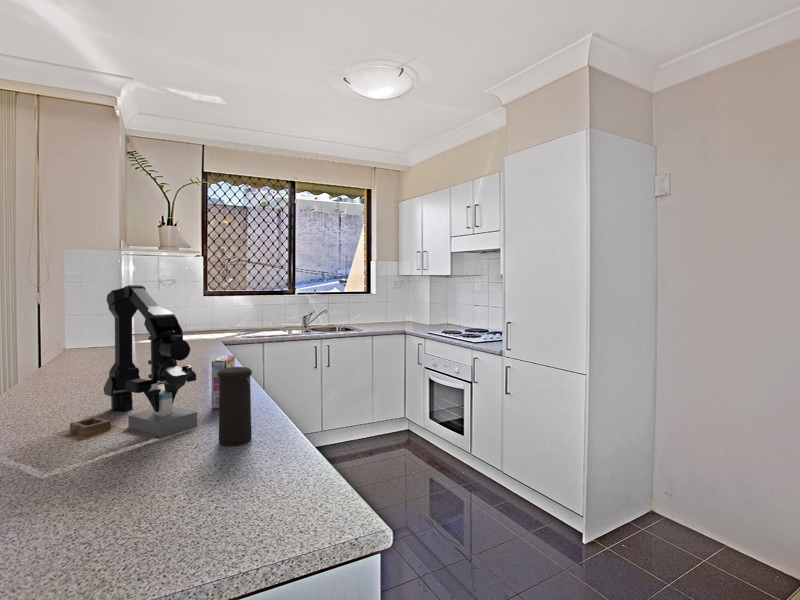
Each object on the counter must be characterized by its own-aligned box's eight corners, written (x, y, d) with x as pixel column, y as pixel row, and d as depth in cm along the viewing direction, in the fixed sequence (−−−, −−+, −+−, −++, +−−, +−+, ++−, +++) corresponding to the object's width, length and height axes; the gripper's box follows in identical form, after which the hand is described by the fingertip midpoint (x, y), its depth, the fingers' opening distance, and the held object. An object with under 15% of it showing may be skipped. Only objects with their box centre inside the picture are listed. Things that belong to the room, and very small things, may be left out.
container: (259, 437, 128) (258, 365, 127) (237, 449, 119) (237, 372, 118) (233, 434, 130) (232, 363, 129) (210, 444, 122) (209, 369, 121)
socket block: (128, 430, 132) (128, 415, 132) (166, 419, 143) (166, 405, 143) (159, 439, 126) (159, 422, 126) (197, 426, 136) (197, 411, 136)
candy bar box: (226, 409, 154) (226, 360, 153) (211, 409, 154) (210, 360, 153) (235, 400, 165) (235, 355, 165) (221, 400, 165) (220, 355, 164)
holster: (55, 437, 127) (54, 424, 127) (100, 425, 137) (100, 413, 137) (79, 445, 121) (78, 431, 121) (125, 431, 132) (124, 419, 131)
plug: (154, 427, 134) (153, 393, 133) (163, 424, 137) (163, 390, 136) (163, 429, 132) (162, 394, 132) (172, 426, 135) (172, 392, 134)
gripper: (148, 364, 121) (149, 423, 122) (208, 354, 138) (209, 406, 139) (123, 360, 127) (124, 416, 127) (183, 351, 143) (184, 401, 144)
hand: (163, 410), depth 134 cm, fingers open, 4 cm apart
